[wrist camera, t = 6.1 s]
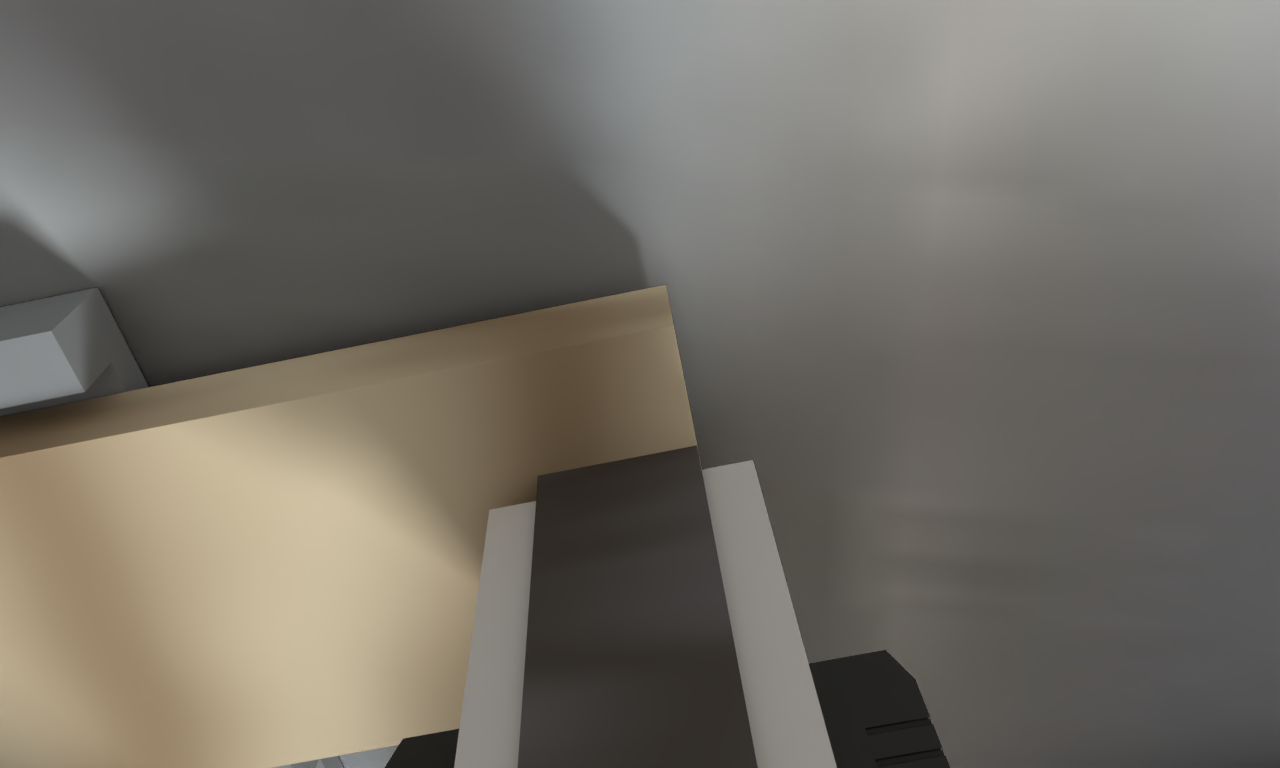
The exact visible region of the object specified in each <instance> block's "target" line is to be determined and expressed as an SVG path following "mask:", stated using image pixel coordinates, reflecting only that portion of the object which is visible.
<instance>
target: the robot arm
mask: <svg viewBox="0 0 1280 768" xmlns="http://www.w3.org/2000/svg"><path fill="white" fill-rule="evenodd" d="M702 474H703V479H704V485H705V490H706V495H707V501H708V506H709V511H710V516H711V522H712V527H713V532H714V538H715V543H716V548H717V554H718V559H719V564H720V570H721V575H722V580H723V586H724V591H725V596H726V602H727V607H728V612H729V617H730V623H731V628H732V633H733V639H734V644H735V649H736V655H737V660H738V665H739V671H740V676H741V681H742V687H743V692H744V697H745V703H746V708H747V713H748V718H749V724H750V729H751V734H752V740H753V745H754V750H755V756H756V761H757V766H758V768H950V767H949V764H948V761H947V759H946V756H944V754H943V750H942V746H941V744H940V741H939V739H938V736H937V734H936V731H935V728H934V726H933V724H932V723H931V720H930V716H929V713H928V711H927V708H926V706H925V703H924V701H923V698H922V695H921V693H920V690H919V688H918V685H917V683H916V680H915V679H914V678H913V677H912V676H911V675H910V674H909V673H908V672H907V671H906V670H905V669H904V668H903V667H902V666H901V665H900V664H899V663H898V662H897V661H896V660H895V659H894V658H893V657H892V656H891V655H890V654H889V653H888V652H887V651H886V650H883V651H878V652H872V653H866V654H861V655H855V656H850V657H844V658H838V659H833V660H827V661H821V662H816V663H810V664H809V663H808V660H807V656H806V652H805V649H804V645H803V641H802V638H801V634H800V630H799V627H798V623H797V619H796V616H795V612H794V608H793V605H792V601H791V597H790V594H789V590H788V586H787V583H786V579H785V575H784V572H783V568H782V564H781V561H780V557H779V553H778V550H777V546H776V542H775V539H774V535H773V531H772V528H771V524H770V520H769V517H768V513H767V509H766V506H765V502H764V498H763V495H762V491H761V487H760V484H759V480H758V476H757V473H756V469H755V465H754V462H753V460H750V461H745V462H739V463H734V464H729V465H723V466H718V467H713V468H707V469H702ZM535 509H536V501H533V502H528V503H523V504H517V505H512V506H507V507H502V508H496V509H491V510H489V516H488V524H487V531H486V538H485V546H484V553H483V560H482V567H481V575H480V582H479V589H478V597H477V604H476V611H475V618H474V626H473V633H472V640H471V648H470V655H469V662H468V670H467V677H466V684H465V691H464V699H463V706H462V713H461V721H460V728H459V729H454V730H449V731H443V732H437V733H432V734H426V735H421V736H415V737H409V738H404V739H402V741H401V743H400V744H399V746H398V747H397V749H396V751H395V752H394V754H393V755H392V757H391V759H390V760H389V762H388V763H387V765H386V767H385V768H518V754H519V740H520V726H521V711H522V697H523V682H524V668H525V653H526V639H527V625H528V610H529V596H530V581H531V567H532V552H533V538H534V524H535Z"/></svg>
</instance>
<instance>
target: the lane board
mask: <svg viewBox="0 0 1280 768" xmlns="http://www.w3.org/2000/svg"><path fill="white" fill-rule="evenodd" d="M148 387H149V386H148V384H147V382H146V380H145V378H144V376H143V374H142V372H141V370H140V368H139V367H138V365H137V363H136V361H135V359H134V357H133V355H132V353H131V351H130V349H129V347H128V345H127V343H126V341H125V339H124V337H123V335H122V333H121V331H120V329H119V328H118V326H117V324H116V322H115V320H114V318H113V316H112V314H111V312H110V310H109V308H108V306H107V304H106V302H105V300H104V298H103V296H102V294H101V292H100V290H99V288H98V287H97V288H92V289H87V290H82V291H77V292H72V293H67V294H63V295H58V296H53V297H48V298H43V299H38V300H33V301H28V302H23V303H19V304H14V305H9V306H4V307H0V417H2V416H7V415H12V414H17V413H22V412H27V411H32V410H37V409H42V408H47V407H52V406H57V405H62V404H67V403H72V402H77V401H82V400H88V399H93V398H98V397H103V396H108V395H113V394H118V393H123V392H128V391H133V390H138V389H143V388H148ZM272 768H344V767H343V765H342V763H341V761H340V759H339V757H338V756H334V757H328V758H323V759H317V760H312V761H306V762H300V763H295V764H289V765H283V766H278V767H272Z"/></svg>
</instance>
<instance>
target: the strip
mask: <svg viewBox="0 0 1280 768" xmlns="http://www.w3.org/2000/svg"><path fill="white" fill-rule="evenodd" d="M533 501H536V509H535V524H534V538H533V552H532V567H531V581H530V596H529V610H528V625H527V639H526V653H525V668H524V682H523V697H522V711H521V726H520V740H519V754H518V768H758V766H757V761H756V756H755V750H754V745H753V740H752V734H751V729H750V724H749V718H748V713H747V708H746V703H745V697H744V692H743V687H742V681H741V676H740V671H739V665H738V660H737V655H736V649H735V644H734V639H733V633H732V628H731V623H730V617H729V612H728V607H727V602H726V596H725V591H724V586H723V580H722V575H721V570H720V564H719V559H718V554H717V548H716V543H715V538H714V532H713V527H712V522H711V516H710V511H709V506H708V501H707V495H706V490H705V485H704V479H703V474H702V466H701V461H700V456H699V451H698V446H697V441H696V436H695V430H694V425H693V420H692V415H691V410H690V405H689V400H688V395H687V390H686V384H685V379H684V374H683V369H682V364H681V359H680V354H679V349H678V344H677V338H676V333H675V328H674V323H673V318H672V313H671V308H670V303H669V298H668V292H667V287H666V285H662V286H657V287H652V288H647V289H642V290H636V291H631V292H626V293H621V294H616V295H611V296H606V297H601V298H596V299H591V300H586V301H581V302H576V303H571V304H566V305H561V306H556V307H551V308H546V309H541V310H536V311H531V312H526V313H521V314H516V315H511V316H506V317H500V318H495V319H490V320H485V321H480V322H475V323H470V324H465V325H460V326H455V327H450V328H445V329H440V330H435V331H430V332H425V333H420V334H415V335H410V336H405V337H400V338H395V339H390V340H385V341H380V342H375V343H370V344H365V345H359V346H354V347H349V348H344V349H339V350H334V351H329V352H324V353H319V354H314V355H309V356H304V357H299V358H294V359H289V360H284V361H279V362H274V363H269V364H264V365H259V366H254V367H249V368H244V369H239V370H234V371H229V372H224V373H218V374H213V375H208V376H203V377H198V378H193V379H188V380H183V381H178V382H173V383H168V384H163V385H158V386H153V387H148V388H143V389H138V390H133V391H128V392H123V393H118V394H113V395H108V396H103V397H98V398H93V399H88V400H82V401H77V402H72V403H67V404H62V405H57V406H52V407H47V408H42V409H37V410H32V411H27V412H22V413H17V414H12V415H7V416H2V417H0V768H272V767H278V766H283V765H289V764H295V763H300V762H306V761H312V760H317V759H323V758H328V757H334V756H340V755H345V754H351V753H357V752H362V751H368V750H374V749H379V748H385V747H390V746H396V745H399V744H400V743H401V741H402V739H404V738H409V737H415V736H421V735H426V734H432V733H437V732H443V731H449V730H454V729H459V728H460V721H461V713H462V706H463V699H464V691H465V684H466V677H467V670H468V662H469V655H470V648H471V640H472V633H473V626H474V618H475V611H476V604H477V597H478V589H479V582H480V575H481V567H482V560H483V553H484V546H485V538H486V531H487V524H488V516H489V510H491V509H496V508H502V507H507V506H512V505H517V504H523V503H528V502H533Z"/></svg>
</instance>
